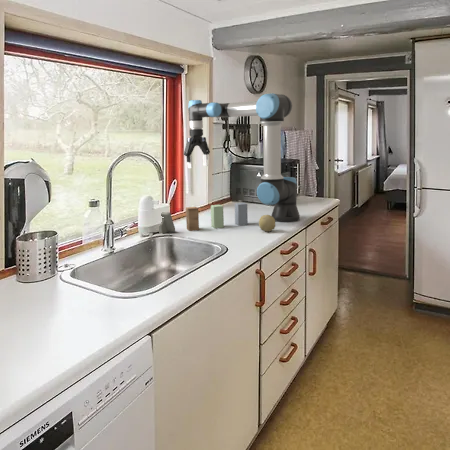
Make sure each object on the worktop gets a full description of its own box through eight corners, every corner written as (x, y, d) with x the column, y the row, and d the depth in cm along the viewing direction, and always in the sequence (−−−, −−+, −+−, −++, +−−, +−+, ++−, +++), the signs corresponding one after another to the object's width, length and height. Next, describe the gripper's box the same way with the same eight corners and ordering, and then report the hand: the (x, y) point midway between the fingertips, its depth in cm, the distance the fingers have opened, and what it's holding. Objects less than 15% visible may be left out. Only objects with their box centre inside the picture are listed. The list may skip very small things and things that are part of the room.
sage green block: (211, 226, 226) (210, 205, 224) (220, 225, 228) (219, 204, 225) (214, 228, 221) (213, 206, 219) (223, 227, 223) (223, 206, 221)
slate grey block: (235, 224, 230) (234, 203, 228) (244, 223, 232) (243, 202, 230) (238, 225, 226) (238, 204, 223) (247, 224, 227) (247, 203, 225)
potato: (258, 229, 216) (258, 213, 214) (274, 229, 215) (274, 213, 214) (259, 233, 208) (259, 216, 207) (275, 233, 208) (275, 216, 206)
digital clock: (177, 232, 216) (176, 210, 214) (162, 235, 210) (161, 213, 207) (156, 227, 227) (155, 207, 225) (142, 231, 221) (140, 210, 218)
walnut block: (186, 229, 222) (185, 207, 220) (196, 228, 224) (195, 206, 221) (189, 231, 217) (188, 209, 215) (199, 230, 219) (198, 208, 217)
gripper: (205, 128, 258) (206, 165, 262) (175, 129, 238) (178, 168, 243) (215, 128, 254) (216, 165, 258) (186, 129, 234) (188, 169, 239)
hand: (197, 167), depth 251 cm, fingers open, 13 cm apart
